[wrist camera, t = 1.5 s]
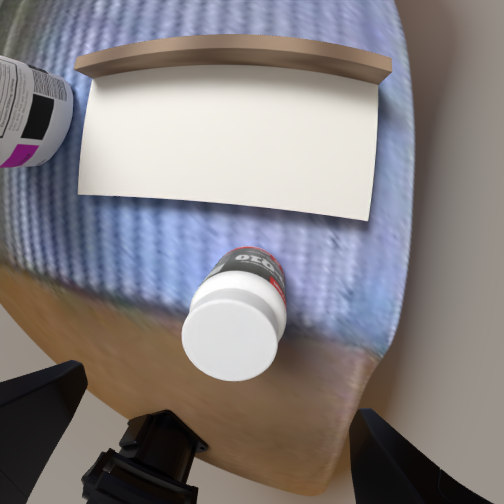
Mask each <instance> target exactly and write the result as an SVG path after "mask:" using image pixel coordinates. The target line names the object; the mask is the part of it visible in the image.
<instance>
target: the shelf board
mask: <svg viewBox="0 0 504 504" xmlns="http://www.w3.org/2000/svg"><path fill="white" fill-rule="evenodd" d="M74 70H76V71H78V72H80V73H82V74H84V75H86V76H89V77H91V78H93V80H92V84H91V89H90V94H89V99H88V104H87V110H86V116H85V122H84V129H83V137H82V145H81V154H80V166H79V181H78V195H104V196H128V197H146V198H163V199H177V200H191V201H203V202H215V203H226V204H236V205H246V206H256V207H265V208H274V209H283V210H291V211H299V212H307V213H315V214H322V215H330V216H337V217H344V218H351V219H358V220H364V221H368V217H369V210H370V203H371V195H372V186H373V177H374V166H375V155H376V140H377V121H378V85H379V84H380V83H381V82H382V81H383V80H384V79H385V78H386V77H387V76H388V75H389V74H390V73H392V59H391V58H390V57H387V56H383V55H380V54H376V53H372V52H369V51H365V50H360V49H356V48H352V47H347V46H343V45H338V44H332V43H327V42H321V41H315V40H308V39H300V38H291V37H281V36H269V35H247V34H217V35H196V36H183V37H173V38H165V39H157V40H150V41H144V42H138V43H133V44H128V45H123V46H118V47H114V48H109V49H105V50H101V51H97V52H94V53H90V54H86V55H83V56H80V57H77V59H76V63H75V67H74Z"/></svg>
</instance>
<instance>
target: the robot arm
mask: <svg viewBox="0 0 504 504" xmlns="http://www.w3.org/2000/svg"><path fill="white" fill-rule="evenodd" d="M87 385H88V381H87V377H86V373H85V369H84V366H83V364H82V363H80V362H78V361H75V360H70V361H67V362H64V363H61V364H58V365H55V366H52V367H49V368H45V369H42V370H39V371H36V372H33V373H30V374H26V375H23V376H20V377H17V378H13V379H10V380H6V381H3V382H0V504H26V502H27V500H28V497H29V496H30V494H31V492H32V490H33V488H34V486H35V484H36V482H37V480H38V478H39V476H40V474H41V473H42V471H43V469H44V467H45V465H46V463H47V462H48V460H49V458H50V456H51V454H52V453H53V451H54V449H55V447H56V446H57V444H58V442H59V440H60V439H61V437H62V435H63V434H64V432H65V430H66V428H67V427H68V425H69V423H70V422H71V420H72V418H73V416H74V414H75V412H76V409H77V407H78V405H79V403H80V401H81V399H82V396H83V395H84V393H85V390H86V388H87ZM127 424H128V425H129V427H128V428H127V430H126V432H125V434H124V435H123V437H122V439H121V441H120V442H119V446H120V447H121V450H120V452H119V453H117V452H115V450H113V449H111V448H109V450H108V451H107V452H101V454H100V456H99V457H98V459H97V461H96V462H95V463H94V465H93V466H92V467H91V468H90V469H89V470H88V471H87V472H86V473H85V474H84V475H83V477H82V479H81V481H82V483H83V486H84V487H83V494H82V497H83V498H84V499H86V500H88V501H87V503H86V504H196V503H197V496H198V487H195V486H190V485H187V484H186V482H187V479H188V476H189V472H190V469H191V466H192V462H193V459H194V456H195V453H198V452H203V451H206V450H207V448H208V445H207V444H205V443H204V442H203V441H202V440H201V439H200V438H199V437H197V436H196V435H195V434H194V433H193V432H192V431H191V430H190V429H189V428H188V427H186V426H185V425H184V424H183V423H182V422H181V421H180V420H179V419H178V418H177V417H176V416H175V415H174V414H173V413H172V412H171V411H169V410H162V411H159V412H156V413H152V414H146V415H143V416H139V417H136V418H133V419H131V420H129V421H128V423H127ZM349 438H350V459H351V473H352V480H353V486H354V493H355V499H356V504H493V503H491V502H490V501H488V500H486V499H484V498H483V497H481V496H479V495H478V494H476V493H474V492H473V491H471V490H469V489H468V488H466V487H465V486H463V485H462V484H460V483H458V482H457V481H456V480H455V479H453V478H452V477H451V476H449V475H448V474H447V473H446V472H445V471H443V470H442V469H440V467H438V466H437V465H436V464H435V463H434V462H432V461H431V460H430V459H429V458H427V457H426V456H425V455H424V454H423V453H422V452H420V451H419V450H418V449H417V448H416V447H415V446H413V445H412V444H411V443H410V442H409V441H408V440H406V439H405V438H404V437H403V436H402V435H401V434H400V433H398V432H397V431H396V430H395V429H394V428H393V427H391V426H390V425H389V424H388V423H387V422H386V421H385V420H384V419H383V418H381V417H380V416H379V415H378V414H377V413H376V412H375V411H374V410H372V409H371V408H361V409H358V410H357V412H356V414H355V416H354V418H353V420H352V423H351V425H350V428H349ZM109 472H110V473H109Z"/></svg>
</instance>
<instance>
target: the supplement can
mask: <svg viewBox="0 0 504 504" xmlns="http://www.w3.org/2000/svg"><path fill="white" fill-rule="evenodd" d="M72 115H73V94H72V90H71V87H70V84H69V83H68V82H67V81H66V80H65V79H64V78H63V77H60V76H58V75H55V74H52V73H50V72H47V71H45V70H42V69H39V68H36V67H34V66H31V65H28V64H25V63H22V62H19V61H16V60H13V59H10V58H7V57H4V56H0V168H4V167H33V166H40V165H42V164H43V163H45V162H46V161H48V160H49V159H50V158H52V156H53V155H54V154H55V152H56V151H57V150H58V148H59V147H60V146H61V144H62V143H63V141H64V138H65V136H66V134H67V132H68V130H69V127H70V123H71V119H72Z"/></svg>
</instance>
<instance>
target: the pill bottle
mask: <svg viewBox="0 0 504 504" xmlns="http://www.w3.org/2000/svg"><path fill="white" fill-rule="evenodd" d="M286 319H287V310H286V295H285V279H284V273H283V270H282V268H281V265H280V264H279V262H278V261H277V259H276V258H275V257H274V256H273V255H272V254H270V253H269V252H267V251H266V250H264V249H261V248H258V247H253V246H243V247H239V248H236V249H233V250H231V251H230V252H228V253H227V254H225V255H224V256H223V257H222V258H221V259H220V260H219V262H218V263H217V264H216V266H215V267H214V268H213V269H212V271H211V272H210V273H209V275H208V276H207V277H206V278H205V280H204V281H203V282H202V284H201V285H200V286H199V288H198V289H197V291H196V292H195V294H194V296H193V299H192V301H191V305H190V313H189V315H188V317H187V318H186V320H185V322H184V325H183V329H182V343H183V347H184V350H185V352H186V354H187V356H188V357H189V359H190V360H191V362H192V363H193V364H194V365H195V366H196V367H197V368H199V369H200V370H201V371H203V372H204V373H206V374H207V375H209V376H212V377H214V378H217V379H221V380H225V381H243V380H247V379H250V378H253V377H255V376H258V375H259V374H261V373H262V372H264V371H265V370H266V369H267V368H268V367H269V366H270V365H271V363H272V362H273V360H274V358H275V356H276V353H277V349H278V342H279V340H280V339H281V337H282V335H283V333H284V330H285V326H286Z"/></svg>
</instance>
